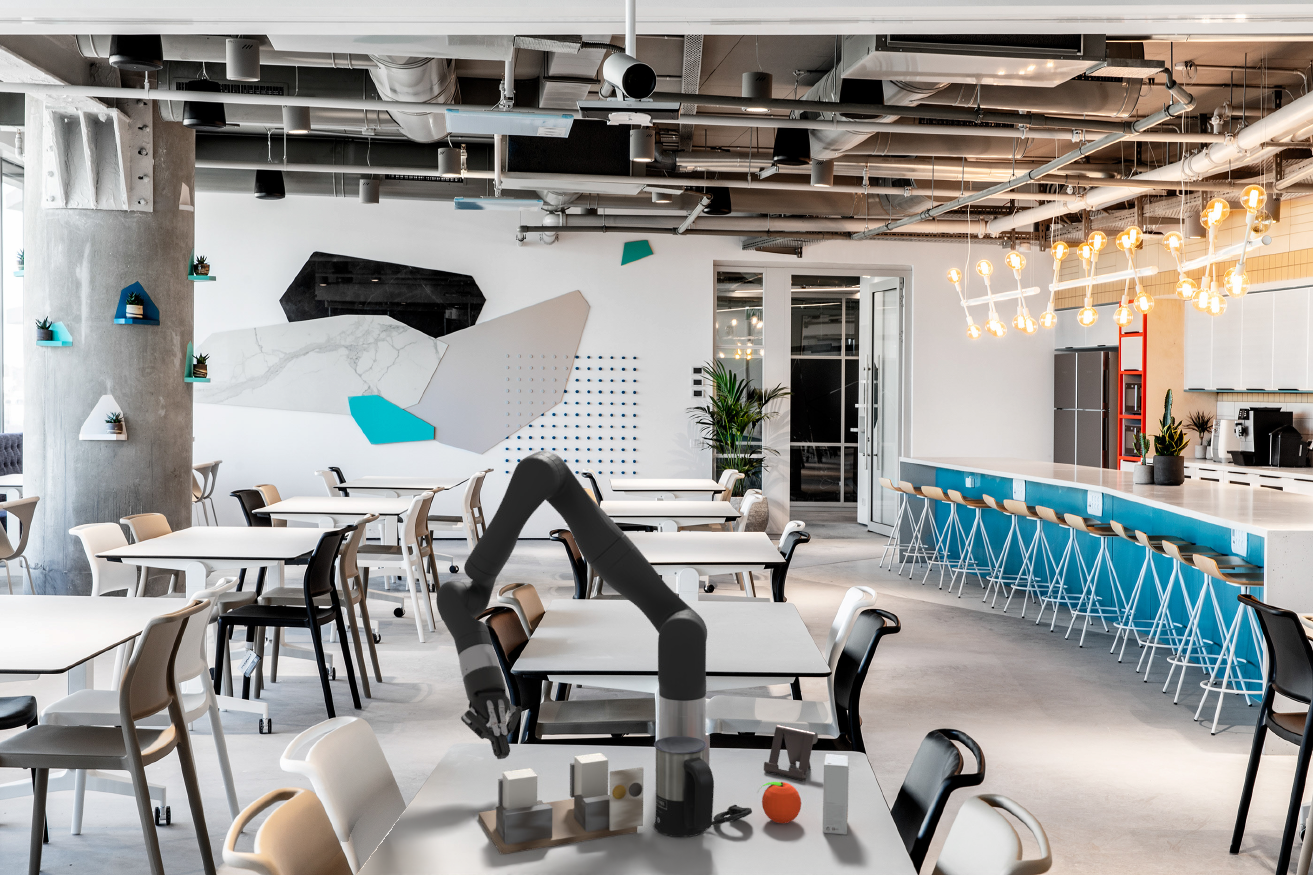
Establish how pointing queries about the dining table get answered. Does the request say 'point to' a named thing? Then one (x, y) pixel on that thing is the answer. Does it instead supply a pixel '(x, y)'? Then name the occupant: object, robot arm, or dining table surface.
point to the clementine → (781, 802)
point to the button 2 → (589, 776)
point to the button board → (570, 817)
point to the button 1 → (517, 789)
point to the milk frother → (686, 789)
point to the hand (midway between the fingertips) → (503, 756)
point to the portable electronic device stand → (791, 751)
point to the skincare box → (835, 794)
